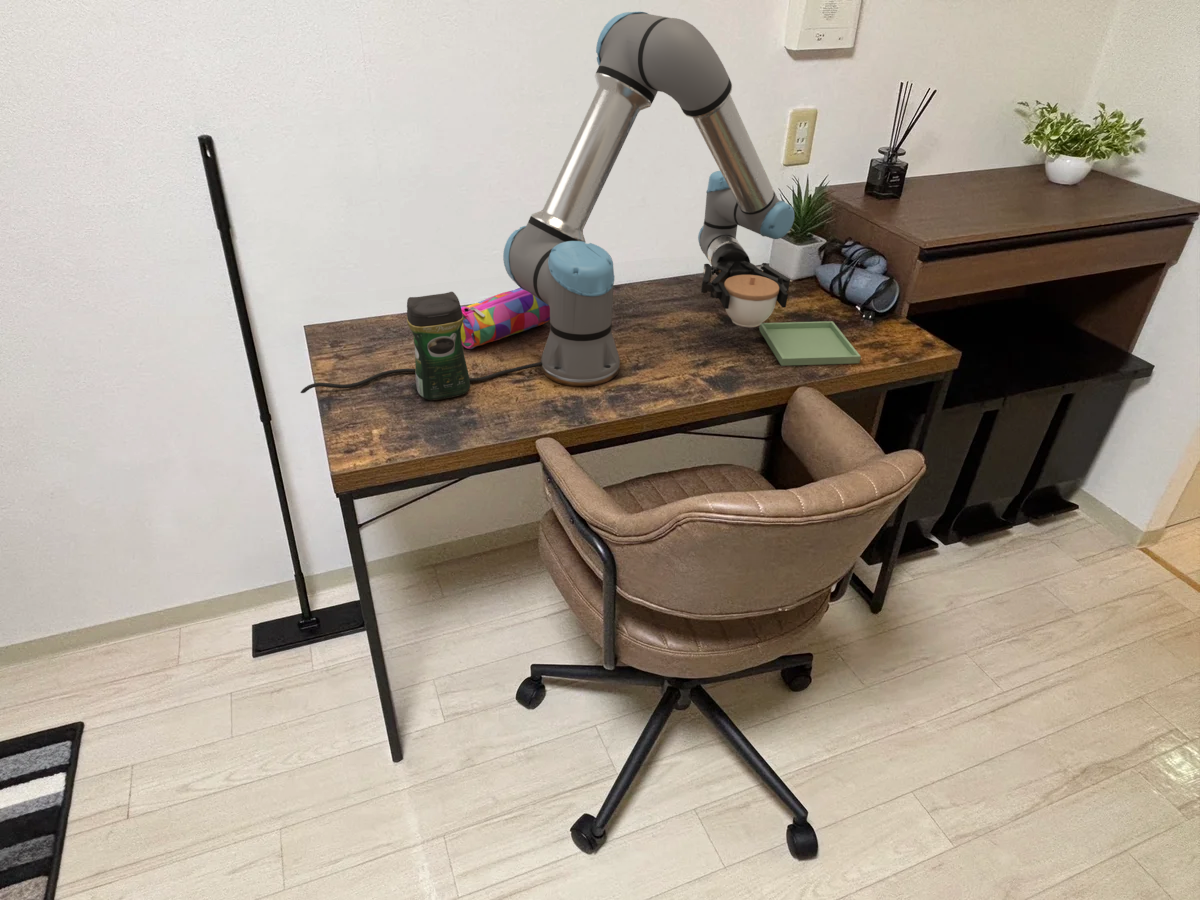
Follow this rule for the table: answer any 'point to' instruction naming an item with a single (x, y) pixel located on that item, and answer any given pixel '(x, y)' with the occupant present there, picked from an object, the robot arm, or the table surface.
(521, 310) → the pencil case
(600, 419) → the table surface
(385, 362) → the table surface
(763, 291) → the trinket box
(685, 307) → the table surface
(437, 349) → the coffee jar
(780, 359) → the tray
